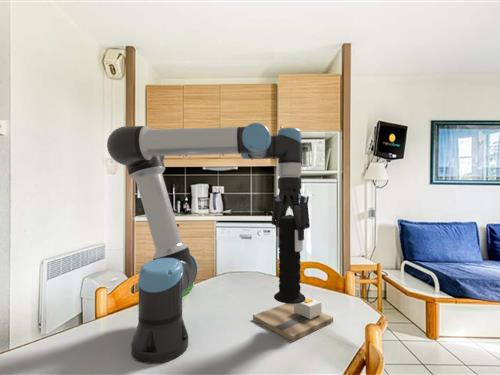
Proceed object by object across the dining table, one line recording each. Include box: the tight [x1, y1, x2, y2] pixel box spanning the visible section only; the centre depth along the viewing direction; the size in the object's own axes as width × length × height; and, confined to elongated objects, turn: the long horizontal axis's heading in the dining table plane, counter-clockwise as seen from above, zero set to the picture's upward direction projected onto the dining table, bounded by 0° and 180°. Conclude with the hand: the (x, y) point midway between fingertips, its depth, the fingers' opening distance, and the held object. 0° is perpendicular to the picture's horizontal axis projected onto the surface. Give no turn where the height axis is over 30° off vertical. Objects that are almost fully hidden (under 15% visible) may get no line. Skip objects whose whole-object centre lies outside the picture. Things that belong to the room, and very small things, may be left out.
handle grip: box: [273, 214, 306, 304], centre depth 89 cm, size 10×26×10 cm
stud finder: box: [294, 295, 322, 319], centre depth 96 cm, size 6×7×4 cm
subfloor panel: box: [252, 303, 334, 342], centre depth 94 cm, size 20×18×2 cm
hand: (289, 248), depth 89 cm, fingers closed on handle grip, 7 cm apart
